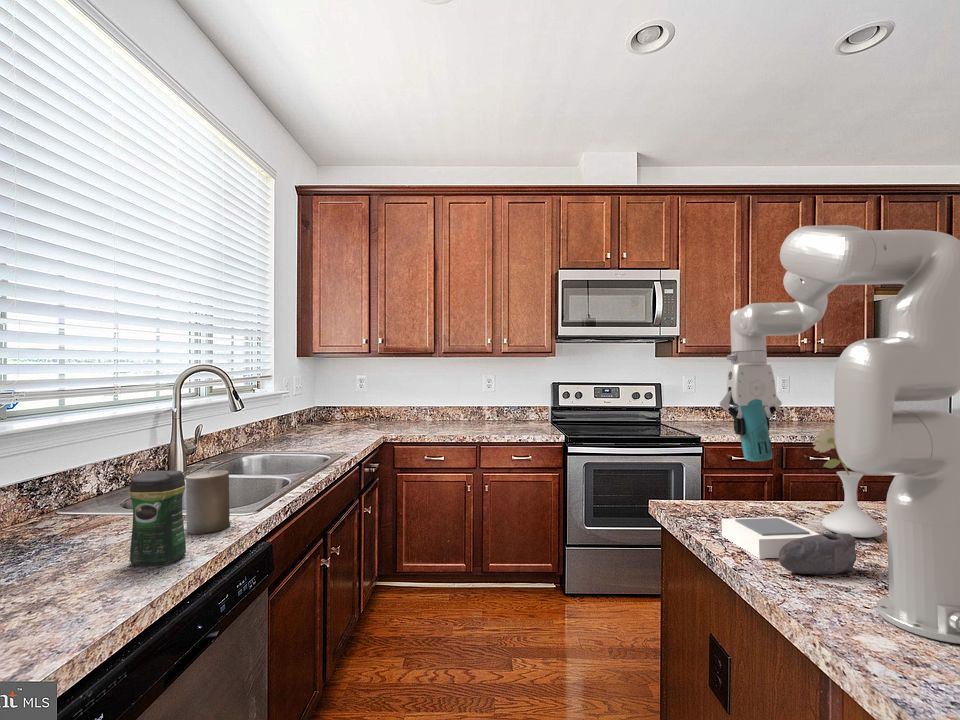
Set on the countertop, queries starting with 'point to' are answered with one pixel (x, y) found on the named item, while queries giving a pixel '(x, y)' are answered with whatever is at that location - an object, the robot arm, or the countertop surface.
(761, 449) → the beverage bottle
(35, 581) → the countertop surface
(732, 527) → the white picture frame
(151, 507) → the coffee jar
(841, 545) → the perforated stone tool
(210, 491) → the pillar candle
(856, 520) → the flower in vase
